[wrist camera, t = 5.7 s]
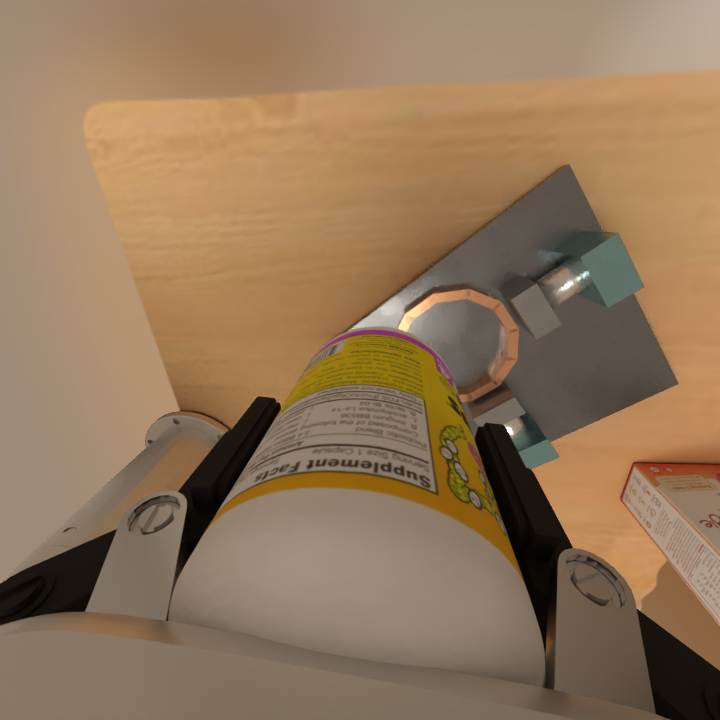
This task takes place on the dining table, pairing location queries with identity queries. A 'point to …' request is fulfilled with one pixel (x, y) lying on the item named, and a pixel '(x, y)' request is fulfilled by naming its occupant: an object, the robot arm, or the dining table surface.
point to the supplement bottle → (368, 525)
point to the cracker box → (681, 521)
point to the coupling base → (558, 357)
